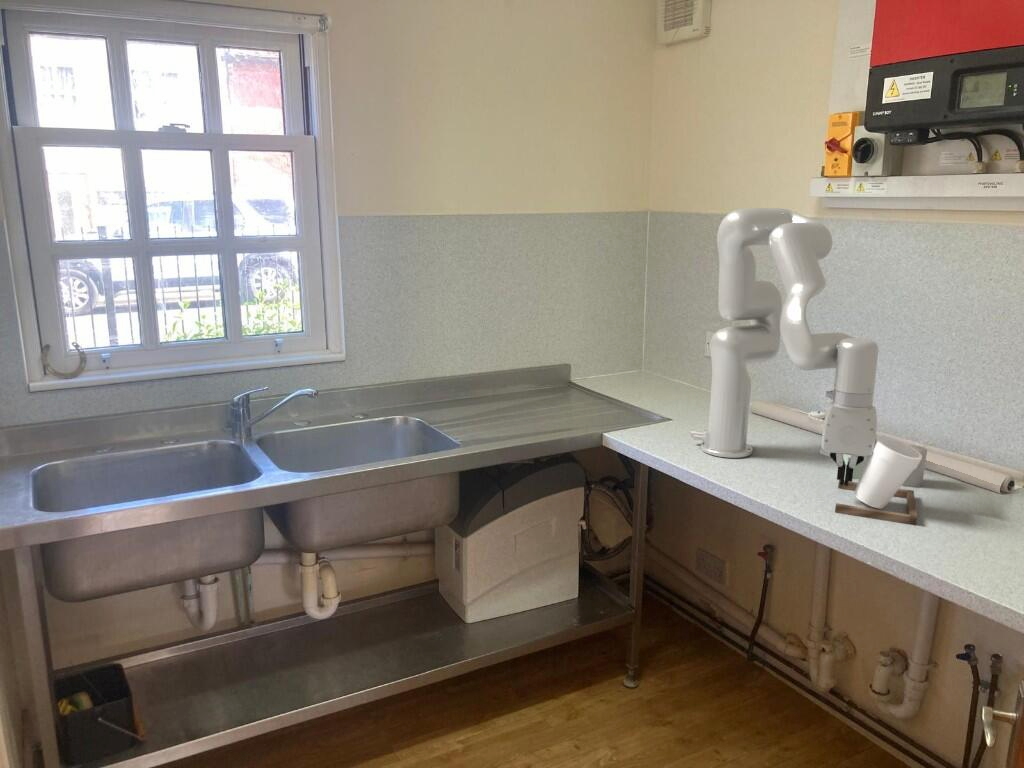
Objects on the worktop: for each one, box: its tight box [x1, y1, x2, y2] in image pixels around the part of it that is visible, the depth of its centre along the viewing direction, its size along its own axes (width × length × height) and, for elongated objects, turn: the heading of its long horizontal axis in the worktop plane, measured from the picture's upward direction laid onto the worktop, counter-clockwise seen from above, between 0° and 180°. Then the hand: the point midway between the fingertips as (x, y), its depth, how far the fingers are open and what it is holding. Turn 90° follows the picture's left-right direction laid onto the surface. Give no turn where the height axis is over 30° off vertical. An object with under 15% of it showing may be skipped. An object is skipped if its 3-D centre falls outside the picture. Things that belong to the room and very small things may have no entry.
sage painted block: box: [843, 454, 866, 480], centre depth 180 cm, size 5×5×5 cm
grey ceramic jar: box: [901, 444, 928, 488], centre depth 175 cm, size 6×6×8 cm
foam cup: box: [853, 434, 922, 510], centre depth 160 cm, size 10×9×13 cm
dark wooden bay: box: [834, 480, 918, 526], centre depth 163 cm, size 15×16×2 cm
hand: (844, 483), depth 164 cm, fingers closed
